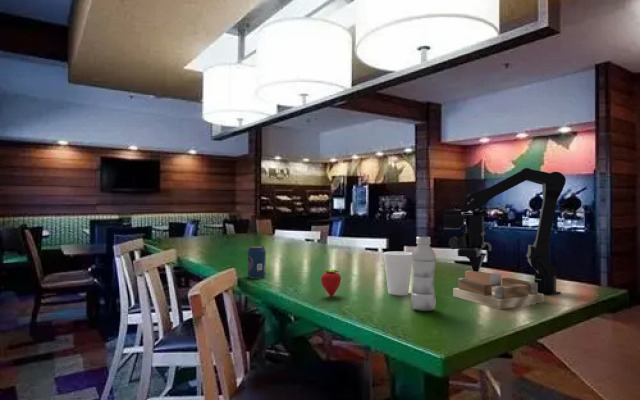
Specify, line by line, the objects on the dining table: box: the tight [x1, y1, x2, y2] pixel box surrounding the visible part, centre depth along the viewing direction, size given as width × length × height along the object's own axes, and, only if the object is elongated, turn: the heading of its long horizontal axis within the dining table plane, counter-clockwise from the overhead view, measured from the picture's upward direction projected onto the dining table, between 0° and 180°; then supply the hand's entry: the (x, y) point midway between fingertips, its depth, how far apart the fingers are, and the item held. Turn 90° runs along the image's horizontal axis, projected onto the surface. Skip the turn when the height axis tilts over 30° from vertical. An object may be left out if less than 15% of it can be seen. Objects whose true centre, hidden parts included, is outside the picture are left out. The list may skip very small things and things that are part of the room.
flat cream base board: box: [452, 277, 545, 310], centre depth 128 cm, size 18×18×6 cm
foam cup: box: [383, 251, 413, 296], centre depth 137 cm, size 10×9×13 cm
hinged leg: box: [464, 270, 502, 285], centre depth 141 cm, size 12×4×3 cm, turn 39°
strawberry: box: [320, 263, 342, 297], centre depth 132 cm, size 6×8×10 cm
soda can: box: [247, 245, 267, 279], centre depth 166 cm, size 7×7×12 cm
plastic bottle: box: [410, 236, 437, 312], centre depth 115 cm, size 6×7×20 cm
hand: (475, 274), depth 146 cm, fingers closed
